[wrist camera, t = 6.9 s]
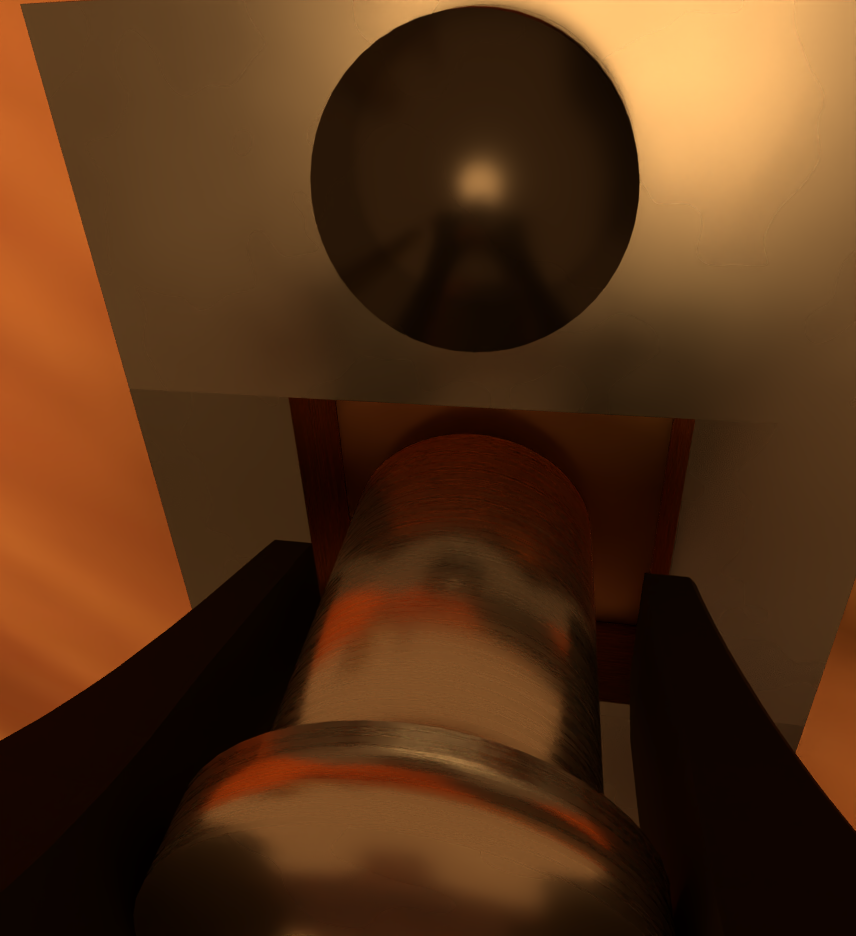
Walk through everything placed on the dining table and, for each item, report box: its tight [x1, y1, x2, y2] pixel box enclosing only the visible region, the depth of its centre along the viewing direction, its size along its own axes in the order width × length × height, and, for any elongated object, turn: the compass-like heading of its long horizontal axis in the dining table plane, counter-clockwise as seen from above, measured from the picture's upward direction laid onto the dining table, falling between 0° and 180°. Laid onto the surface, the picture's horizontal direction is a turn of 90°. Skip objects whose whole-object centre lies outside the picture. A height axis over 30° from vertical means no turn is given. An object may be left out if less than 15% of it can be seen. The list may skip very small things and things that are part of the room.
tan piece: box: [20, 0, 856, 828], centre depth 13 cm, size 16×11×3 cm
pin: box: [133, 434, 675, 936], centre depth 10 cm, size 5×5×7 cm
